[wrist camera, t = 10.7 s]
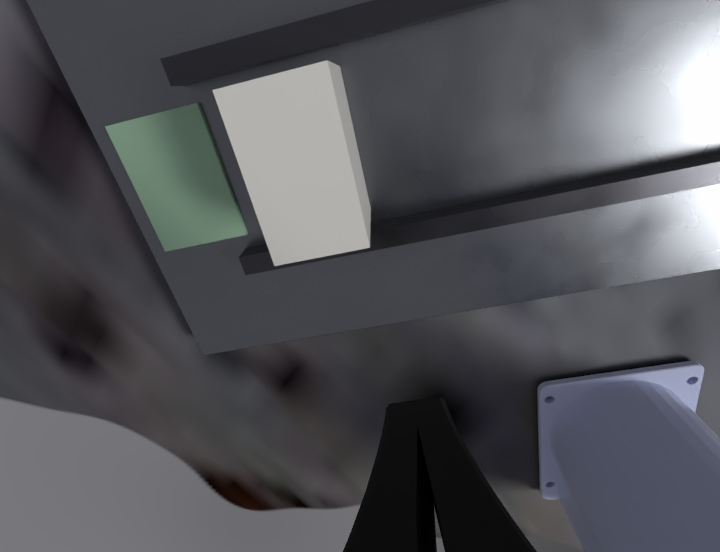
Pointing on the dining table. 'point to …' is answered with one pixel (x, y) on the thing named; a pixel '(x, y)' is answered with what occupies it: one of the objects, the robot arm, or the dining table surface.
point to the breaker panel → (412, 149)
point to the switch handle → (299, 161)
